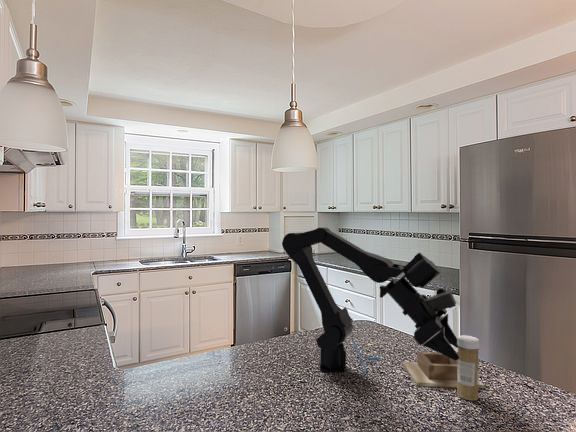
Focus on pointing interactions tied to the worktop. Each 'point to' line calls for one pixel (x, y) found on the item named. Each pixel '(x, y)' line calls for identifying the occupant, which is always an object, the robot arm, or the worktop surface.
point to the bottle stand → (434, 370)
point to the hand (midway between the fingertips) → (458, 352)
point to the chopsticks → (368, 358)
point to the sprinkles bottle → (468, 367)
